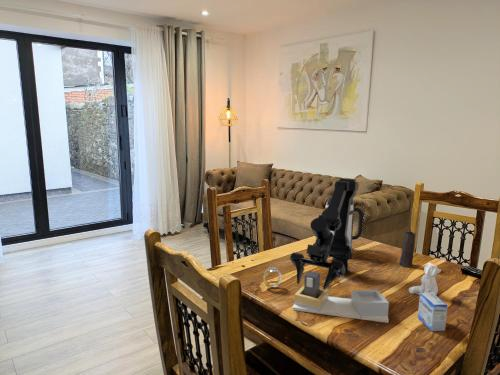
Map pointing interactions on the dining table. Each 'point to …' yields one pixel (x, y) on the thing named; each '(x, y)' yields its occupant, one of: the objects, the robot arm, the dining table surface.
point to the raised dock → (369, 303)
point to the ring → (269, 273)
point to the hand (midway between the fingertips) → (310, 286)
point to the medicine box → (432, 311)
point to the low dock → (311, 299)
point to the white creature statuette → (427, 281)
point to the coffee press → (351, 222)
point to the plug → (312, 284)
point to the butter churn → (408, 246)
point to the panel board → (340, 310)
